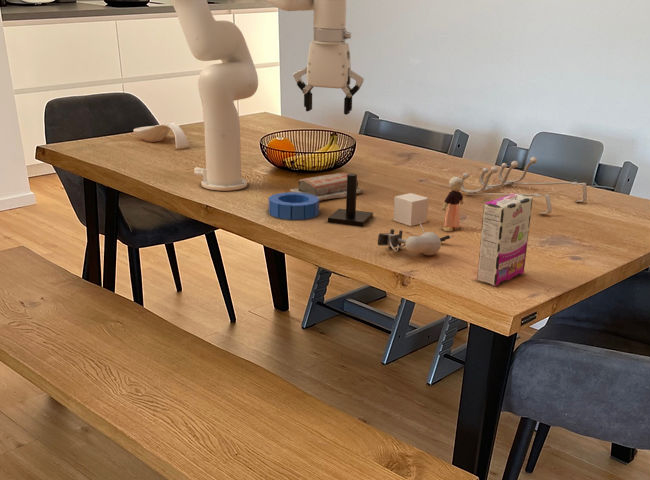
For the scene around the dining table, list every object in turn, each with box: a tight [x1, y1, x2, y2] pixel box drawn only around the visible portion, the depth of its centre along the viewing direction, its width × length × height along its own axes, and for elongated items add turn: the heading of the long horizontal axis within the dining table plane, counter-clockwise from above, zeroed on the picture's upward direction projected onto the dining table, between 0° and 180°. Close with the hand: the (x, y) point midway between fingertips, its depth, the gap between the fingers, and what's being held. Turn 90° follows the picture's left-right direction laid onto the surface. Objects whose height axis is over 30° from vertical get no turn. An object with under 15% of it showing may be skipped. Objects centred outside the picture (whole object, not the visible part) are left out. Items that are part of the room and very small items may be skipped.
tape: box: [267, 191, 320, 221], centre depth 206 cm, size 12×12×4 cm
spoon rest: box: [132, 121, 189, 150], centre depth 272 cm, size 24×12×7 cm, turn 47°
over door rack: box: [460, 156, 588, 215], centre depth 226 cm, size 22×29×10 cm
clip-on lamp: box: [377, 223, 454, 256], centre depth 183 cm, size 12×6×18 cm
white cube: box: [392, 192, 430, 227], centre depth 203 cm, size 6×6×6 cm
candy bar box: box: [476, 192, 534, 287], centre depth 167 cm, size 11×5×16 cm, turn 138°
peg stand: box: [327, 172, 374, 228], centre depth 201 cm, size 9×9×11 cm
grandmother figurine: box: [441, 175, 465, 232], centre depth 197 cm, size 8×4×13 cm, turn 148°
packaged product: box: [289, 172, 364, 202], centre depth 223 cm, size 18×5×10 cm
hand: (327, 112), depth 201 cm, fingers open, 9 cm apart
